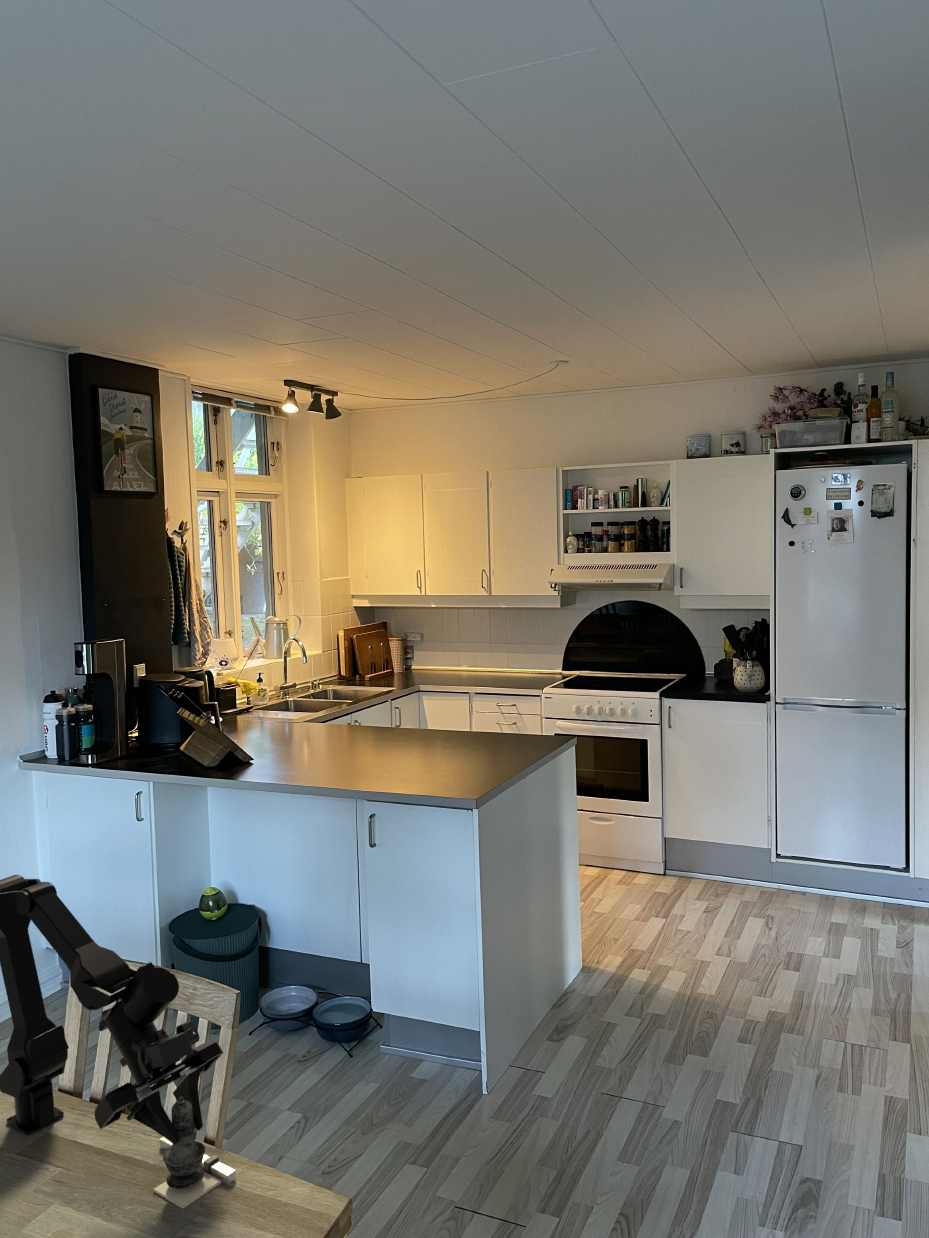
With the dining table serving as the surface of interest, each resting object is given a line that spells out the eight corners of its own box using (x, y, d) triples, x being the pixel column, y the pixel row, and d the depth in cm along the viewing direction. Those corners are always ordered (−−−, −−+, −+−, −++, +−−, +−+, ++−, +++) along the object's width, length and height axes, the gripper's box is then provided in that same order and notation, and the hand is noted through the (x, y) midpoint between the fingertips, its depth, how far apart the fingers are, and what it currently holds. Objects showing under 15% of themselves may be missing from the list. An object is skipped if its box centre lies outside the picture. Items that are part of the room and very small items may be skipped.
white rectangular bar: (158, 1148, 149) (157, 1136, 149) (169, 1142, 151) (168, 1130, 150) (226, 1185, 139) (226, 1172, 139) (237, 1178, 141) (236, 1165, 141)
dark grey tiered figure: (155, 1183, 138) (150, 1101, 137) (184, 1159, 143) (180, 1080, 143) (186, 1194, 136) (181, 1111, 135) (215, 1170, 141) (211, 1090, 140)
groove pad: (153, 1191, 139) (153, 1188, 139) (192, 1167, 144) (192, 1164, 144) (182, 1208, 135) (182, 1205, 135) (221, 1182, 140) (220, 1180, 140)
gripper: (100, 1038, 133) (154, 1144, 127) (211, 986, 148) (264, 1079, 142) (72, 1077, 138) (122, 1180, 132) (182, 1023, 153) (232, 1113, 147)
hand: (189, 1135), depth 138 cm, fingers closed on dark grey tiered figure, 4 cm apart
